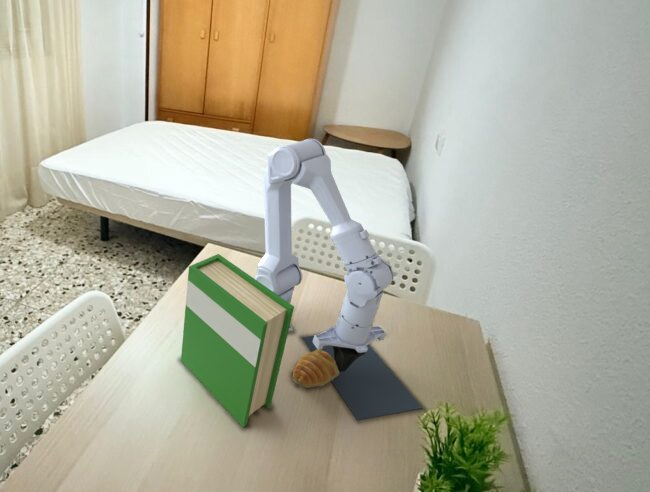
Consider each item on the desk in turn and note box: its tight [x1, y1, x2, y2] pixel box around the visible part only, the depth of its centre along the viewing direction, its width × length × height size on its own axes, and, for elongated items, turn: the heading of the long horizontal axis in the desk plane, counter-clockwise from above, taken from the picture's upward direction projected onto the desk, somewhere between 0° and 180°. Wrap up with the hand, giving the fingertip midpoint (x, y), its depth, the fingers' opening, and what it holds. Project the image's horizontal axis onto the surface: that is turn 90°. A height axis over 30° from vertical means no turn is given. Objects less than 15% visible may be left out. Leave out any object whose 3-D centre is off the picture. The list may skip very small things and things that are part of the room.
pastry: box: [292, 350, 339, 389], centre depth 81 cm, size 9×7×4 cm
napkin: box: [301, 335, 423, 421], centre depth 83 cm, size 20×14×1 cm
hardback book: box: [180, 253, 295, 428], centre depth 74 cm, size 18×7×24 cm, turn 36°
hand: (339, 367), depth 82 cm, fingers closed
